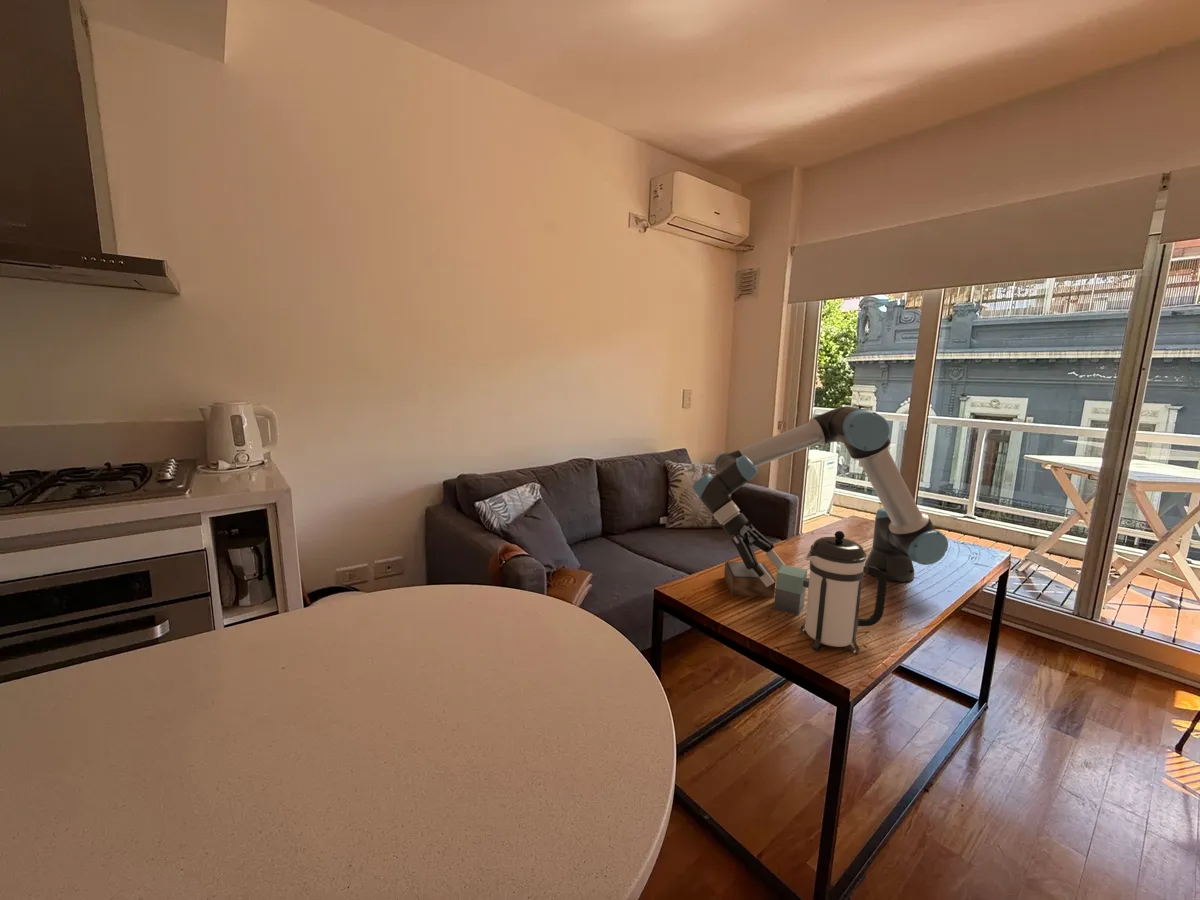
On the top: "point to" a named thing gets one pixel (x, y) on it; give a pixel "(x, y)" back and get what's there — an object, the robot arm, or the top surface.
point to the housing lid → (792, 579)
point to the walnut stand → (746, 580)
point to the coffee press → (838, 592)
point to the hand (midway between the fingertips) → (777, 576)
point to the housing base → (789, 601)
